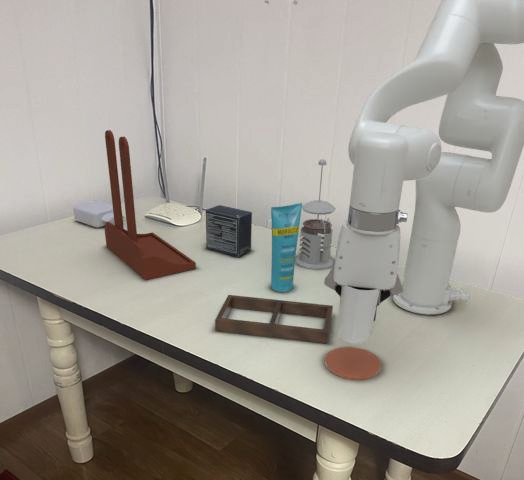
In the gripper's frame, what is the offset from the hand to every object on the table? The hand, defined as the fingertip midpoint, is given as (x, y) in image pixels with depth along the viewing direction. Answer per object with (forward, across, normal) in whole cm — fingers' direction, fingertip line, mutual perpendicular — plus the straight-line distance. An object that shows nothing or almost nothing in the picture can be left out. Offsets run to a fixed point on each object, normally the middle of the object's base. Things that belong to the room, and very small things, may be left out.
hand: (358, 321), depth 97 cm
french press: (+9, +11, -46) cm, 48 cm away
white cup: (+3, 0, 0) cm, 3 cm away
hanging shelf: (+9, +52, -39) cm, 66 cm away
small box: (+9, +34, -49) cm, 60 cm away
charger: (+9, +73, -60) cm, 95 cm away
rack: (+9, +16, -12) cm, 22 cm away
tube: (+9, +17, -29) cm, 35 cm away
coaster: (+9, 0, 0) cm, 9 cm away
